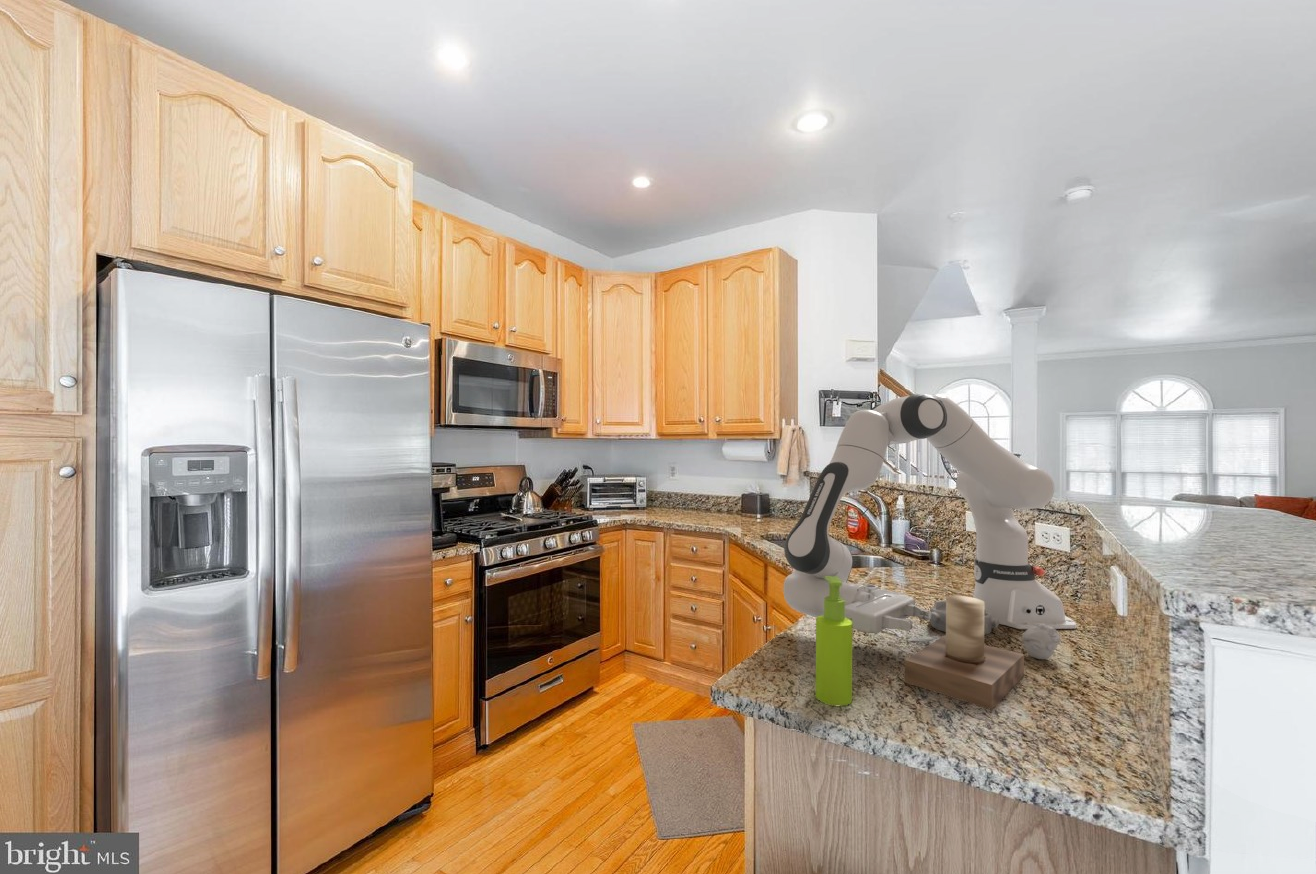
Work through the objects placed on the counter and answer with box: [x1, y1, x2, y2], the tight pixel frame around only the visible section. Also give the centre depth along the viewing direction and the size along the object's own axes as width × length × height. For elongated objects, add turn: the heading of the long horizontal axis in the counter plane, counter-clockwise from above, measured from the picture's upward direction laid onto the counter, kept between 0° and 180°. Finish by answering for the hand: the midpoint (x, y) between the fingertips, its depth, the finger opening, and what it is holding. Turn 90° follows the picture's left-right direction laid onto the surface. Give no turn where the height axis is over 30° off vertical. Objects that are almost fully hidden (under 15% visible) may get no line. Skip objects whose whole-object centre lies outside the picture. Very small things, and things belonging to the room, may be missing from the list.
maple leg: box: [945, 595, 985, 665], centre depth 102 cm, size 6×6×14 cm
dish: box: [928, 599, 1000, 636], centre depth 131 cm, size 14×14×5 cm
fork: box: [884, 628, 938, 643], centre depth 128 cm, size 3×24×2 cm, turn 38°
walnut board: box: [904, 634, 1025, 710], centre depth 102 cm, size 20×14×4 cm
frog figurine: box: [1021, 623, 1061, 660], centre depth 112 cm, size 6×7×7 cm
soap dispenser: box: [814, 576, 854, 706], centre depth 94 cm, size 6×7×20 cm
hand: (920, 620), depth 107 cm, fingers open, 8 cm apart
